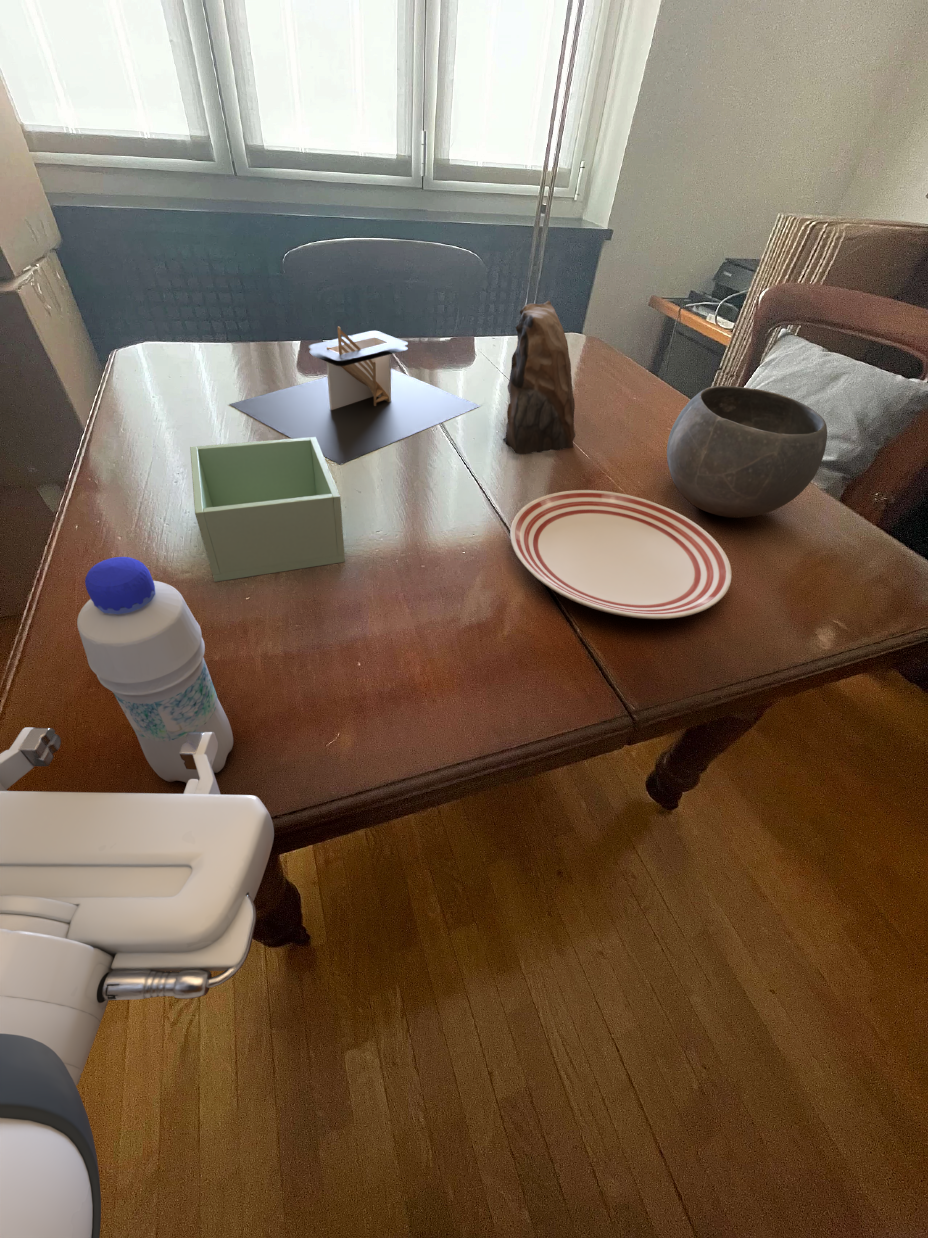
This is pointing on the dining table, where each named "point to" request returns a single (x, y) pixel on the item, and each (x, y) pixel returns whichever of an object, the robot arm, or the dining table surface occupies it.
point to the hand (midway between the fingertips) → (125, 734)
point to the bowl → (744, 450)
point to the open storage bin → (266, 507)
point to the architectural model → (356, 399)
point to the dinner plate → (620, 554)
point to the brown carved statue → (540, 384)
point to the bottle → (152, 663)
